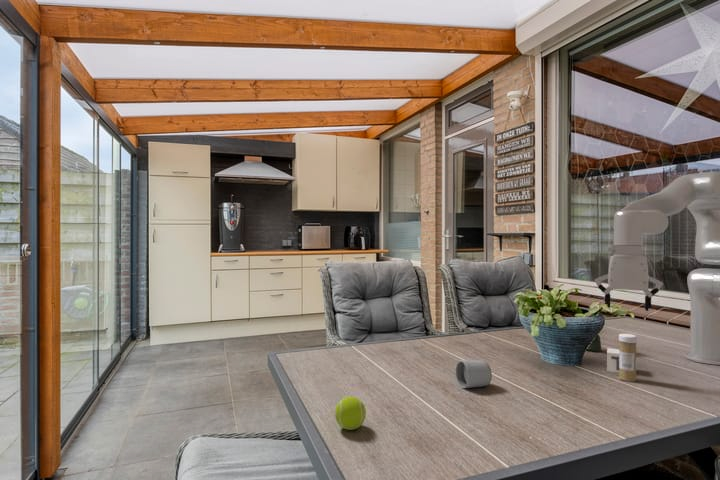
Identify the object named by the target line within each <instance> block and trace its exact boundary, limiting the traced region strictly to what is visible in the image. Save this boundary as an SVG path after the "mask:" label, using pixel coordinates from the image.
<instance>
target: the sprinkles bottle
mask: <svg viewBox="0 0 720 480" xmlns="http://www.w3.org/2000/svg"><path fill="white" fill-rule="evenodd" d="M618 342H619V368H620V373H618V375H619V376H618V378H619V379H620V380H623V382H624V381H625V382H632V383H633V382H637V379H638V378H637V342H638V338H637V335H635V334H632V333H619V335H618Z"/></svg>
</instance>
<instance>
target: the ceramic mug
mask: <svg viewBox="0 0 720 480" xmlns="http://www.w3.org/2000/svg"><path fill="white" fill-rule="evenodd" d="M455 376H456V382H457V384H458V386H459V387H461V388H462V389H470V388H480V387H485V386H489V385H490V383H491V381H492V377H493V376H492V369H491V367H490V365H489V363H488V362H487V361H484V360H480V359H479V360H477V359H476V360H473V359H470V360H468V359H467V360H466V359H464V360H463V359H461V360H459V361H457V363H456V367H455Z"/></svg>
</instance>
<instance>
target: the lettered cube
mask: <svg viewBox="0 0 720 480" xmlns="http://www.w3.org/2000/svg"><path fill="white" fill-rule="evenodd" d="M606 350H607V351H606V372H611V373H618V374H620V368H619V350H620V348H612V347H611V348H610V347H608V348H606Z"/></svg>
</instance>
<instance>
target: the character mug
mask: <svg viewBox="0 0 720 480" xmlns="http://www.w3.org/2000/svg"><path fill="white" fill-rule="evenodd" d="M603 330H604V329H602V330H601V332H600V333H599V334H598V335H597V336H596V337H595V339H594V340H593V341H592V343H591V344H590V346H589V347H588V349H587V350H588V351H589V350H590V351H598V352H599V351H601V350H602V341H601V336H600V335H601V334H603Z"/></svg>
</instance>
